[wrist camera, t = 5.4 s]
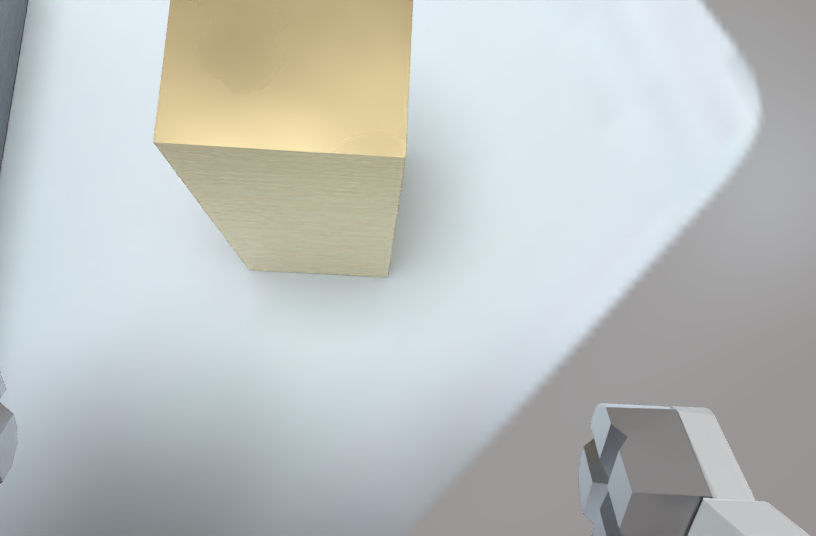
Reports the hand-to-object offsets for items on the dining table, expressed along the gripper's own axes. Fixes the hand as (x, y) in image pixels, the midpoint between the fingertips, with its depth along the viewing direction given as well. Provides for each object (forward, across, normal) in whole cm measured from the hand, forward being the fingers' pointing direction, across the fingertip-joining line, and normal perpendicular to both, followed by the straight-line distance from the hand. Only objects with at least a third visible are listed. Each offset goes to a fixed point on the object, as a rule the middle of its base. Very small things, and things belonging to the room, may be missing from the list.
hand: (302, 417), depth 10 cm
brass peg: (+12, +1, +3) cm, 12 cm away
